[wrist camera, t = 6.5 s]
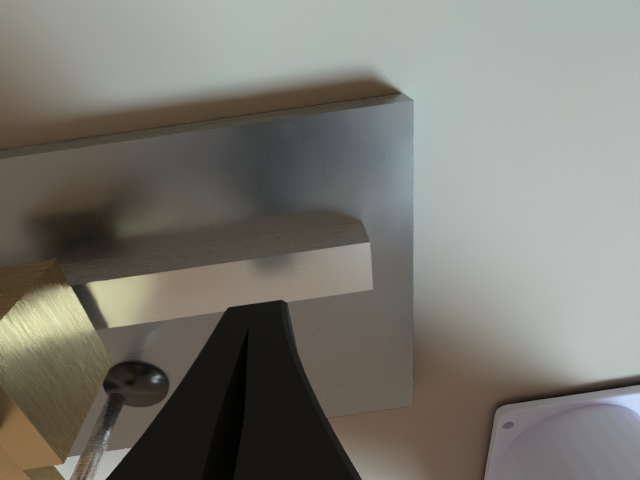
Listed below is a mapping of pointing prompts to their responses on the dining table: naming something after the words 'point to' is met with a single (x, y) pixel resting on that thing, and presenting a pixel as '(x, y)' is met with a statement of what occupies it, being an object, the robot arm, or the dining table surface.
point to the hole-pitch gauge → (231, 245)
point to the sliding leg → (49, 376)
